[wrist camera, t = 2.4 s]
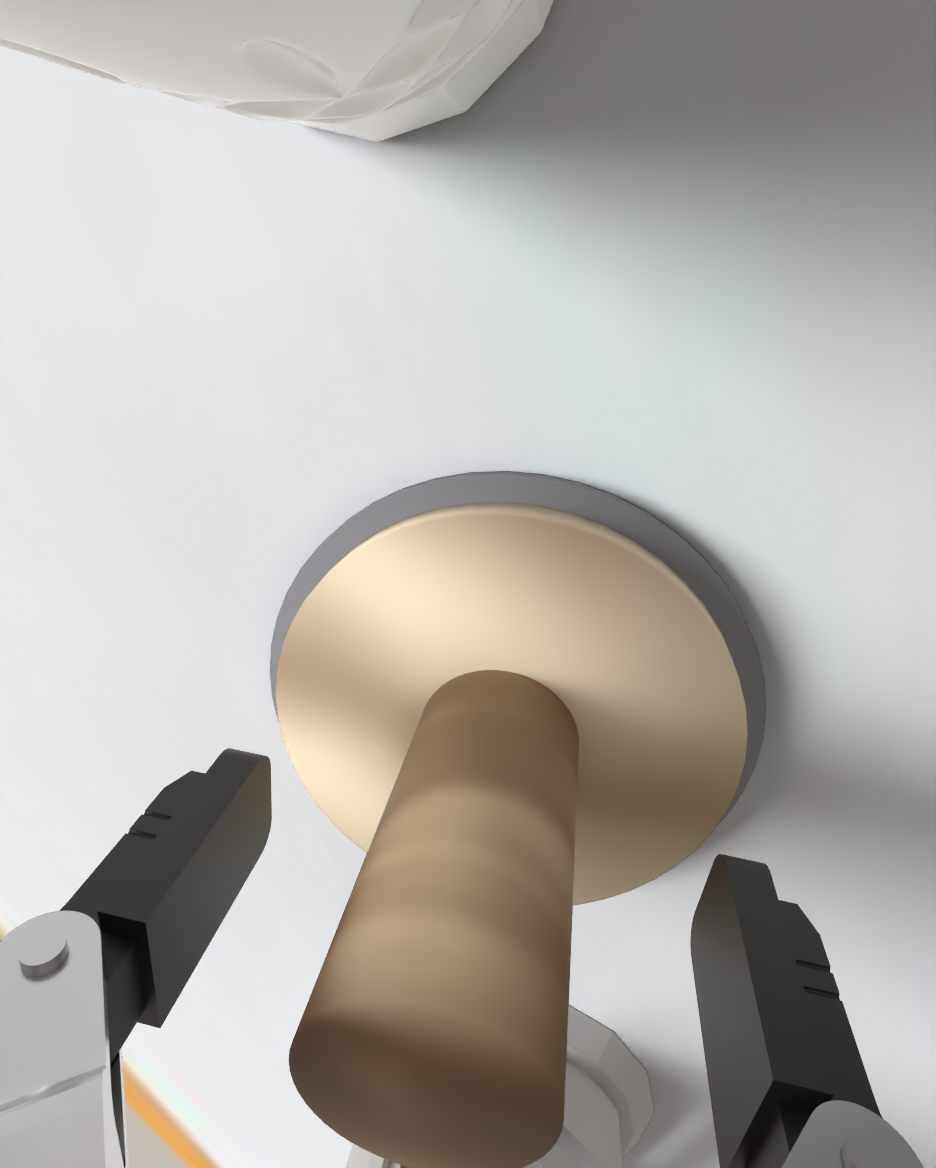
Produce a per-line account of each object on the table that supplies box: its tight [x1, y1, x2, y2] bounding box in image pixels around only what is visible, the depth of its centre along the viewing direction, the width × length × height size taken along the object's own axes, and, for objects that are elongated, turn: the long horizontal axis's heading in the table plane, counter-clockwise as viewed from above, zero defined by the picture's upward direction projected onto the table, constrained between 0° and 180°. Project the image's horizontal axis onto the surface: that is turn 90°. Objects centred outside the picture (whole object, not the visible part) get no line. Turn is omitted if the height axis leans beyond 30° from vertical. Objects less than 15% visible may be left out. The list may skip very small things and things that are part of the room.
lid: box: [276, 502, 748, 1168], centre depth 12 cm, size 10×10×8 cm
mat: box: [270, 471, 766, 825], centre depth 15 cm, size 11×11×1 cm
